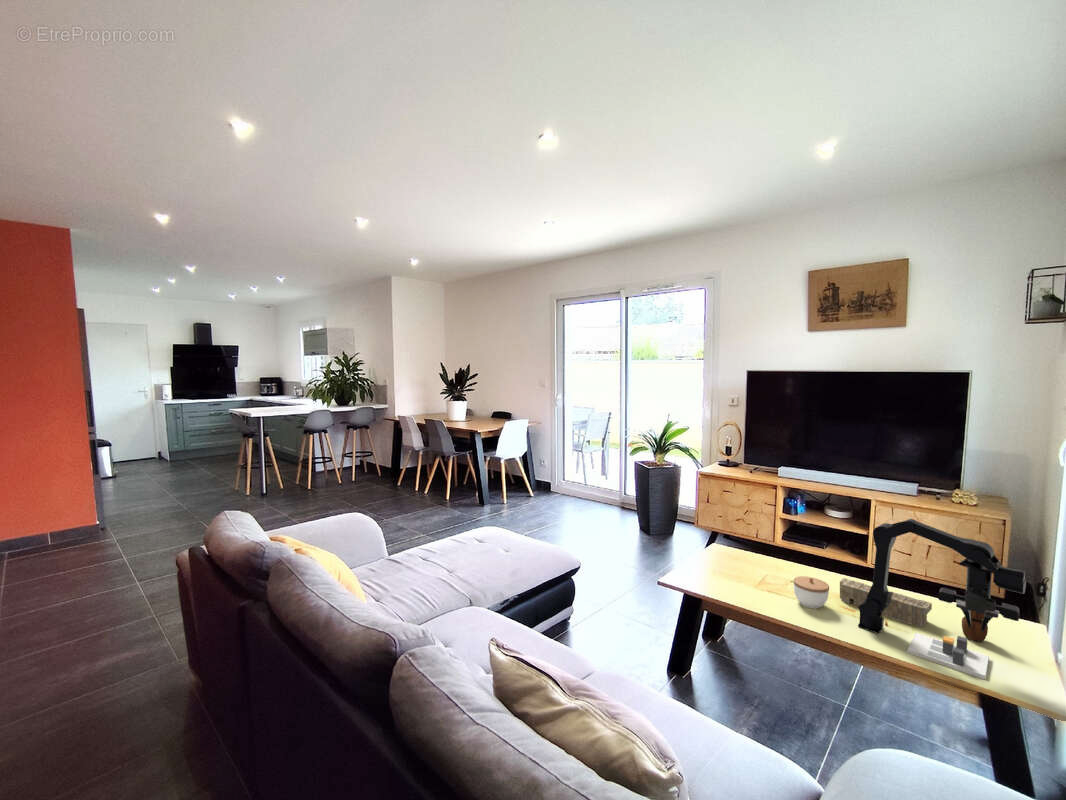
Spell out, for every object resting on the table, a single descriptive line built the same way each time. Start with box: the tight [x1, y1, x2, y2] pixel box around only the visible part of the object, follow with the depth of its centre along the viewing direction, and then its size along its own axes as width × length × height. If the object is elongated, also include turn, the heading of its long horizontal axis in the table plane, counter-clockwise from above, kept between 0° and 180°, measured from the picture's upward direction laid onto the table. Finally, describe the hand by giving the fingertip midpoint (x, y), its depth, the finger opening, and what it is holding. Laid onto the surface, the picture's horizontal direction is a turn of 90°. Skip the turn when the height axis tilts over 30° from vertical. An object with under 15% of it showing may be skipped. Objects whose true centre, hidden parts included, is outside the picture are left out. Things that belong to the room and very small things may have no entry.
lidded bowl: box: [793, 575, 830, 610], centre depth 192 cm, size 13×13×11 cm
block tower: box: [839, 577, 933, 628], centre depth 187 cm, size 8×8×29 cm
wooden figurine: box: [961, 611, 989, 642], centre depth 166 cm, size 7×6×15 cm
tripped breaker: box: [942, 635, 955, 655], centre depth 156 cm, size 2×3×4 cm
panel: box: [907, 632, 990, 680], centre depth 156 cm, size 19×15×5 cm
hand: (976, 629), depth 151 cm, fingers open, 3 cm apart
